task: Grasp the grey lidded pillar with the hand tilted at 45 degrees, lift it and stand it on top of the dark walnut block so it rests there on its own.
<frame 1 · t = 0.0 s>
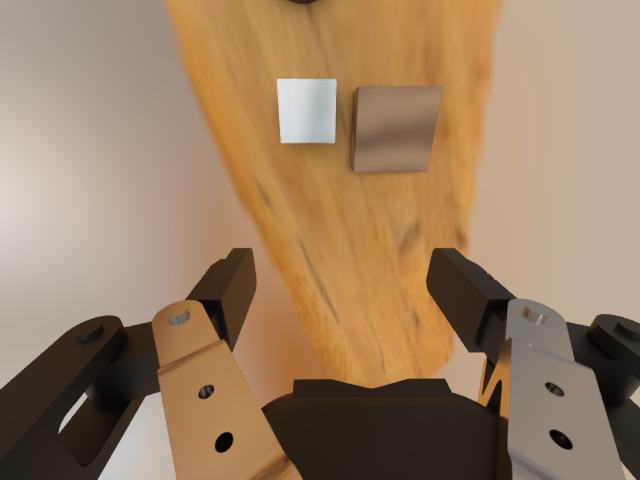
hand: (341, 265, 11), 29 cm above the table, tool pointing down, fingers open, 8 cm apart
grey lidded pillar: (310, 116, 35), on the table
walnut block: (385, 131, 36), on the table
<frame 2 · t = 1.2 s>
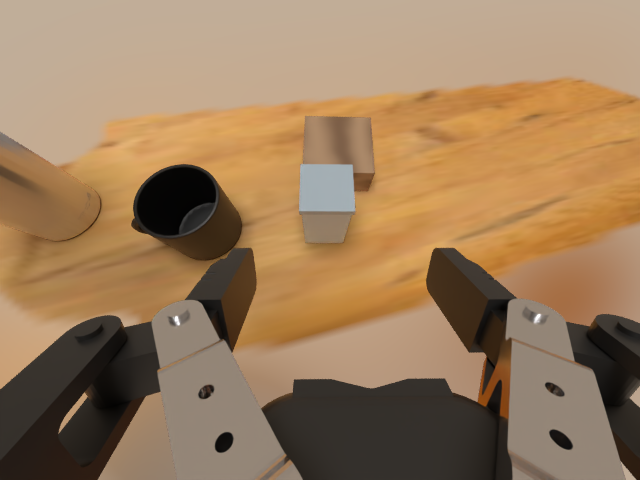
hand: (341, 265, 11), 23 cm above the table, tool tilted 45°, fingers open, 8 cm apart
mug: (201, 232, 36), on the table
grey lidded pillar: (324, 225, 36), on the table
walnut block: (335, 164, 40), on the table
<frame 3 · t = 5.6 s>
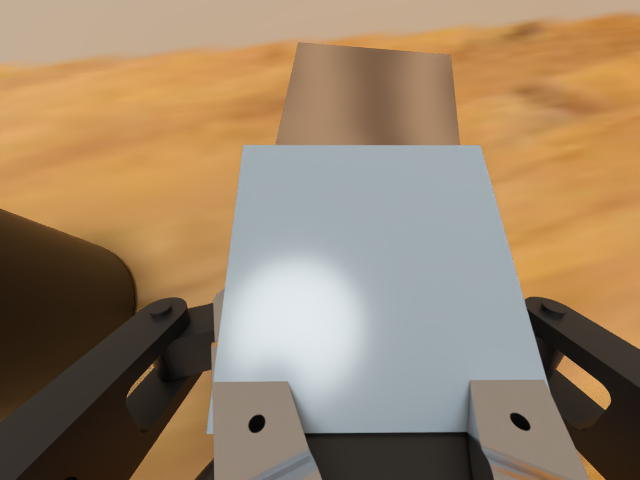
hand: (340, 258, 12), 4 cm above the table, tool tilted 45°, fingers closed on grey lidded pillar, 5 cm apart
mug: (37, 324, 15), on the table
grey lidded pillar: (335, 305, 15), on the table, touching gripper
walnut block: (357, 160, 19), on the table
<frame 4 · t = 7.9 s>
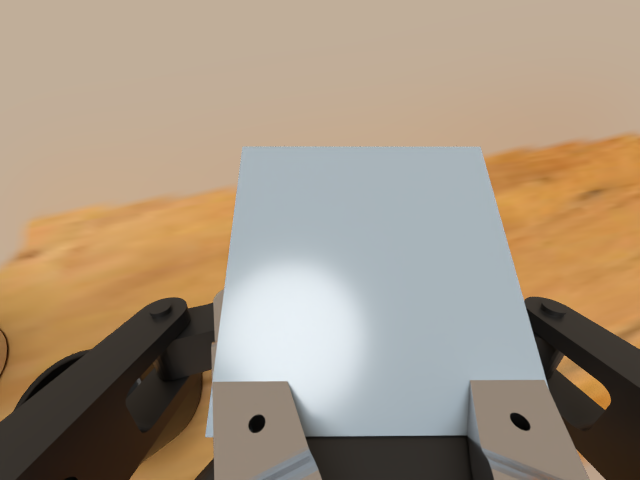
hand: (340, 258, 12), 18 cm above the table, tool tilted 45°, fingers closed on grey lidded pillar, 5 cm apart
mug: (146, 394, 25), on the table
grey lidded pillar: (335, 306, 15), point 14 cm above the table, touching gripper
when the fingers open (10 cm above the table, at t = 10.6 s): grey lidded pillar drops 1 cm, resting on walnut block.
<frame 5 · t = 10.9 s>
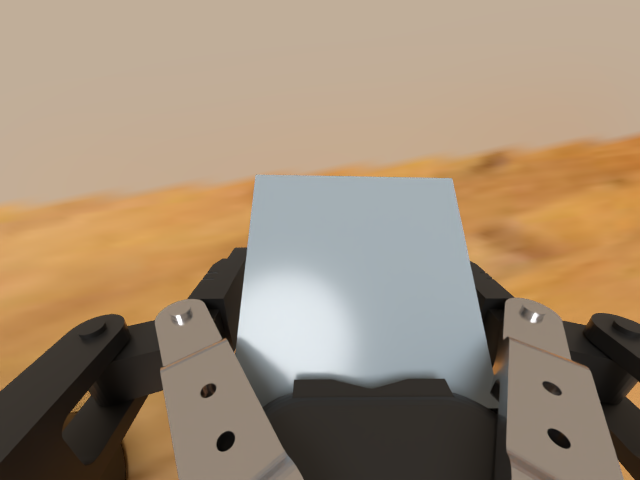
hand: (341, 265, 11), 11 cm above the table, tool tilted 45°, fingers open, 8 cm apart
grey lidded pillar: (331, 307, 16), point 5 cm above the table, touching walnut block
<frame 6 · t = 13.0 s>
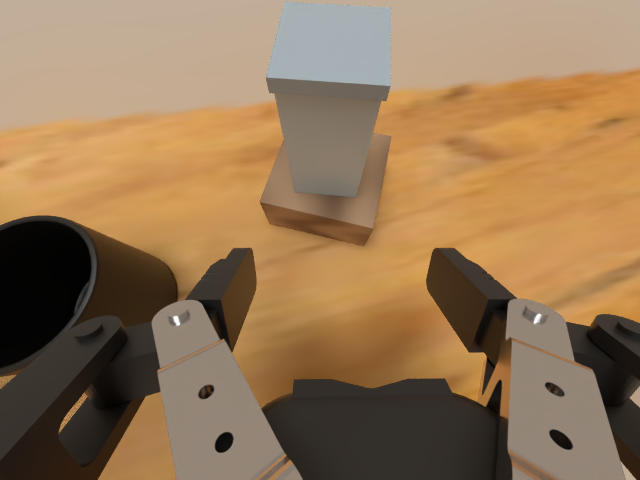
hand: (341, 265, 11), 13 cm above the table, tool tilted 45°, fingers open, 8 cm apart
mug: (114, 306, 23), on the table
grey lidded pillar: (327, 168, 22), point 5 cm above the table, touching walnut block
walnut block: (327, 195, 27), on the table, touching grey lidded pillar
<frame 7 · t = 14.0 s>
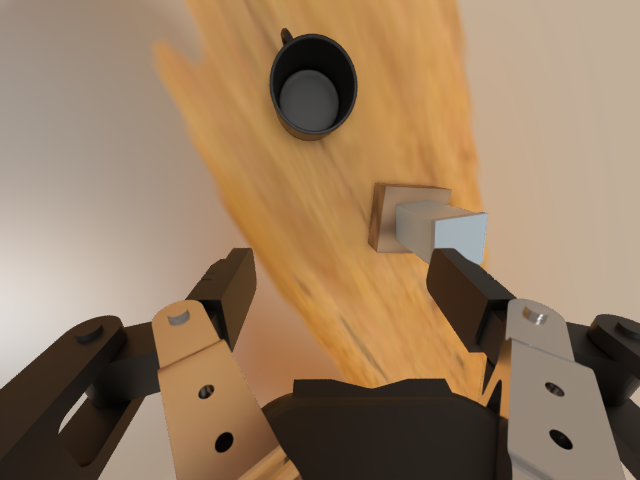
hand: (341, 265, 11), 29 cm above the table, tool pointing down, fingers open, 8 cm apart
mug: (304, 96, 34), on the table
grey lidded pillar: (413, 220, 36), point 5 cm above the table
walnut block: (399, 214, 41), on the table
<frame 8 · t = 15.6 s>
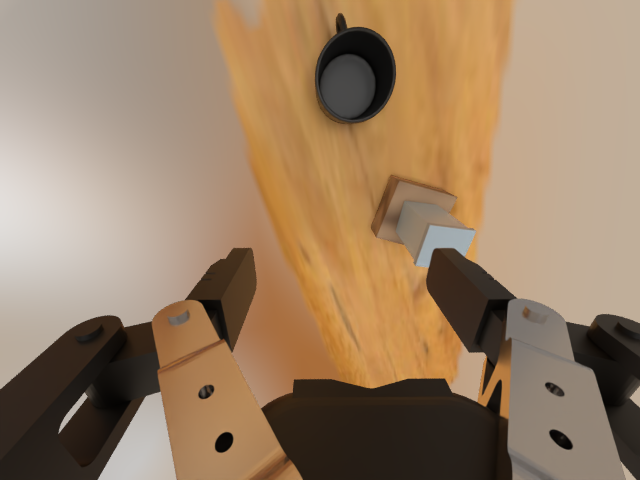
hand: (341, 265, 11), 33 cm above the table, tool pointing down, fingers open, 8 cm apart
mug: (345, 79, 36), on the table
grey lidded pillar: (415, 218, 40), point 5 cm above the table
walnut block: (405, 208, 45), on the table
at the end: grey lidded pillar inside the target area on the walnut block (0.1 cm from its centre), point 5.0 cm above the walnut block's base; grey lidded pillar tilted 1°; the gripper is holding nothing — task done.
